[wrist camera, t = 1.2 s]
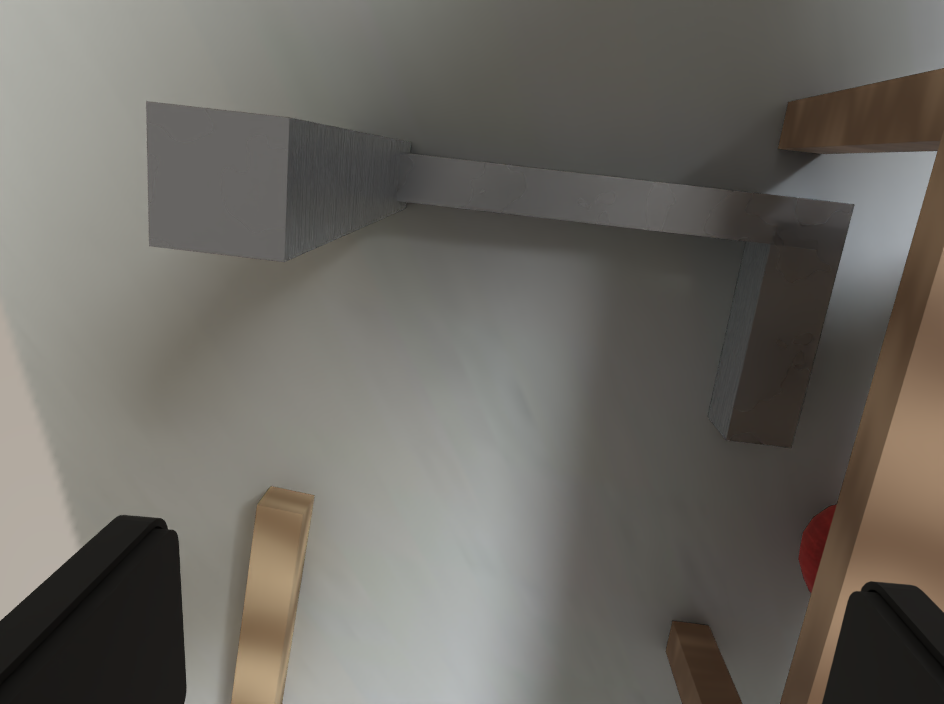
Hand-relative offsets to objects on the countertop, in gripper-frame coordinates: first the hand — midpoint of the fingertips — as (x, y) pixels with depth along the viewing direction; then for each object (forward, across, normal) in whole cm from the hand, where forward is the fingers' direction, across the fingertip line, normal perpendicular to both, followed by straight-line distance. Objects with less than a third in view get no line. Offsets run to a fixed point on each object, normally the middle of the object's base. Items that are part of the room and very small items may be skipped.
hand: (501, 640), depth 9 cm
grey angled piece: (+24, -3, -1) cm, 25 cm away
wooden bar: (+25, +12, +18) cm, 33 cm away
